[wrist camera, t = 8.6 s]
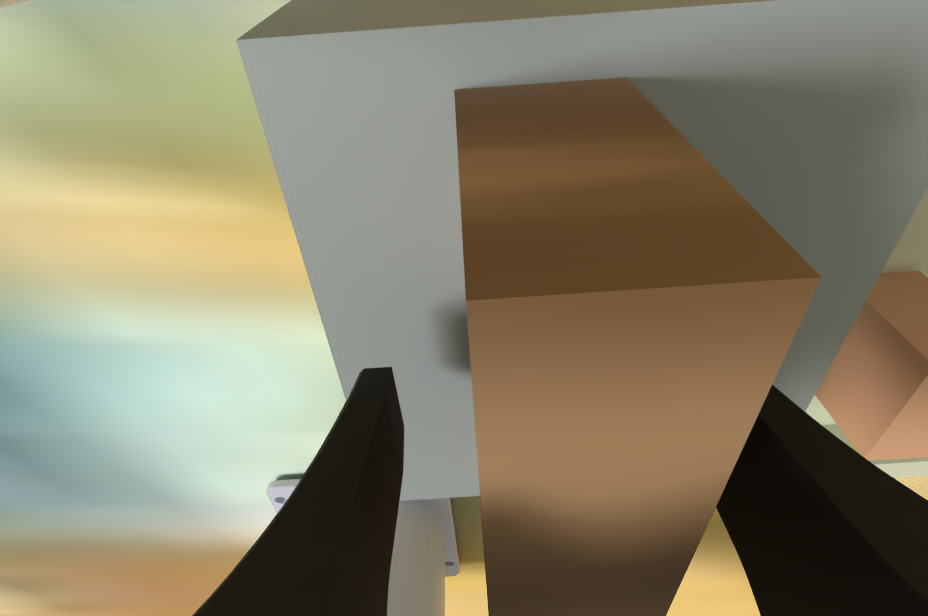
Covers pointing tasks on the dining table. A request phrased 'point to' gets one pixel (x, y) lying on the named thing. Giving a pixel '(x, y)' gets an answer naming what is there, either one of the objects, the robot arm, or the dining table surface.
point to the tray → (916, 250)
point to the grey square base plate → (560, 60)
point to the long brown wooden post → (608, 341)
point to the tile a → (884, 372)
